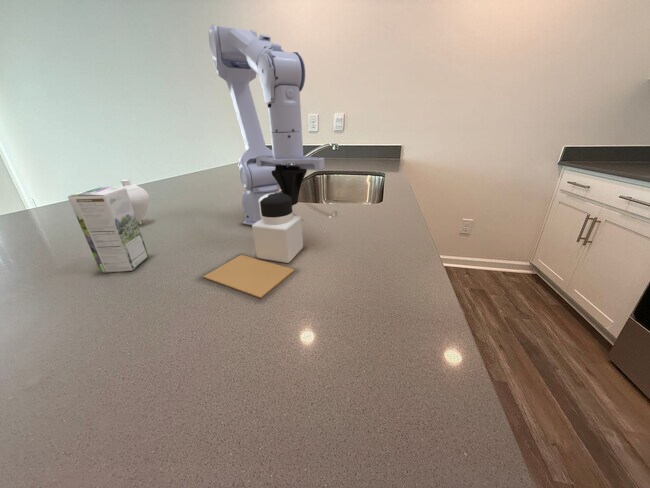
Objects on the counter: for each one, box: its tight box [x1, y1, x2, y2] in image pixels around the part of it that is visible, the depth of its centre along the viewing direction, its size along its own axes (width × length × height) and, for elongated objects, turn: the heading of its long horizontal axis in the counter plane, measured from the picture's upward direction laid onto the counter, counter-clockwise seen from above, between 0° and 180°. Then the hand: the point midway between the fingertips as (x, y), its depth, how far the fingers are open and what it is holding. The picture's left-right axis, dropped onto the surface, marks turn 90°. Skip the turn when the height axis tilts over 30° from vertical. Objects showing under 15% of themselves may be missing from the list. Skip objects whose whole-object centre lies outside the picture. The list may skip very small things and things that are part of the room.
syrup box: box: [67, 186, 149, 274], centre depth 46 cm, size 6×6×14 cm
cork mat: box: [202, 254, 295, 299], centre depth 45 cm, size 13×9×1 cm
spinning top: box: [120, 179, 151, 225], centre depth 67 cm, size 8×8×12 cm
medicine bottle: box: [251, 192, 304, 264], centre depth 50 cm, size 7×7×12 cm
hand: (292, 204), depth 53 cm, fingers closed
